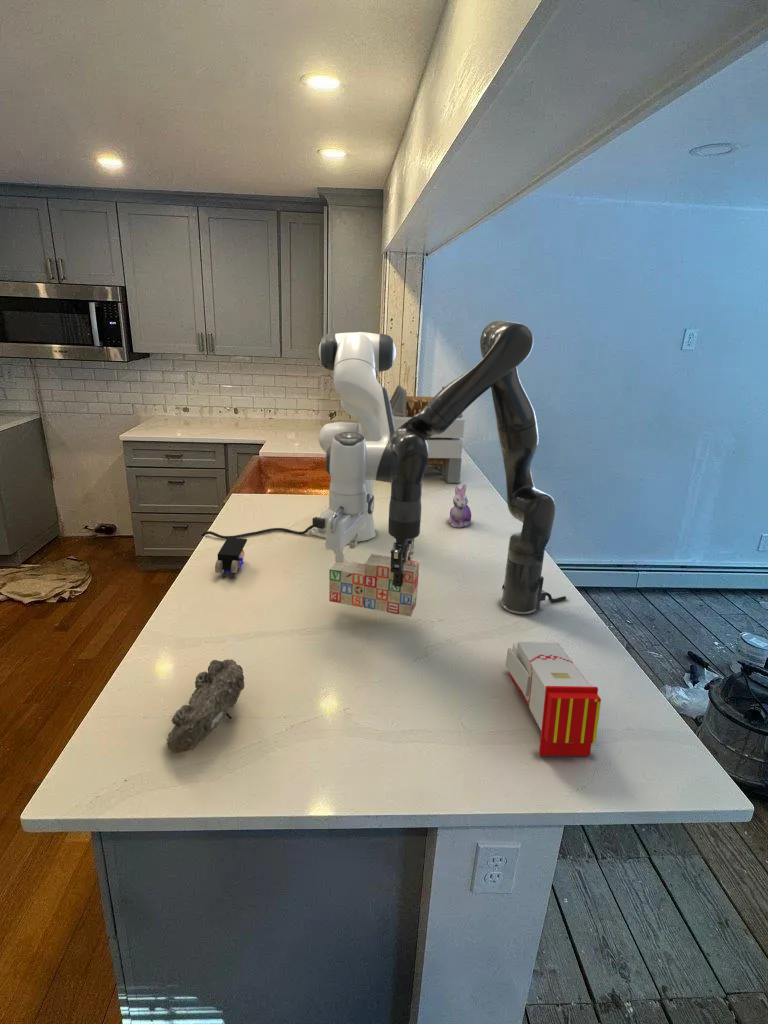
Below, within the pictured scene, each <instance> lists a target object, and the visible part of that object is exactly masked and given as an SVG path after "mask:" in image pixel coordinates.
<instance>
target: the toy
mask: <svg viewBox="0 0 768 1024" xmlns="http://www.w3.org/2000/svg"><path fill="white" fill-rule="evenodd" d="M511 646H512V647H508V648H507V653H506V658H505V659H506V660H505V668H506V669H507V671H508V675H509V676H510V677H511V679H512V681H513V682H514V684H515V686H516V688H517V689H518V691H519V693H520V694H521V696H522V698H523V700H524V702H525V703H526V705H527V706H528V708H529V710H530V712H531V715H532V716H533V718H534V720H535V722H536V723H537V724H536V725H537V726H538V727H539V730H540V731H541V733H540V739H539V740H540V741H539V749H538V751H539V752H538V754H539V756H543V757H548V756H550V757H551V756H552V757H553V756H554V757H568V756H569V757H591V751H592V744H596V743H597V734H598V726H599V717H600V710H601V702H602V698H601V697H600V696H599V694H598V693H599V688H598V686H592V684H590V682H589V681H588V680H587V678H586V677H585V676H584V675H583V673H582V672H581V671H580V669H579V668H578V667H577V665H576V664H575V663H574V661H573V660H572V659H571V658H570V656H569V655H568V654H567V652H566V651H565V649H564V647H562V645H561V644H560V643H559V642H553V641H551V642H549V641H548V642H547V641H546V642H545V641H517V642H512V645H511Z"/></svg>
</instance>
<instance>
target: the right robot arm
mask: <svg viewBox="0 0 768 1024" xmlns="http://www.w3.org/2000/svg"><path fill="white" fill-rule="evenodd" d="M479 346H480V347H479V348H480V349H479V350H480V353H481V357H482V359H480V360H479V362H477V363H476V364H475V365H474V366H473V367H471V368H470V369H469V370H468V371H466V372H464V373H463V374H462V375H460V376H459V377H457V378H456V379H454V380H452V381H451V382H449V383H448V384H447V385H446V386H443V387H444V388H443V389H442V388H441V389H440V390H439V391H438V392H437V393H436V394H435V396H433V397H434V398H433V399H432V400H431V401H430V402H429V403H428V404H427V405H426V406H425V407H424V408H423V410H422V411H421V412H419V413H418V414H416V415H415V416H413V417H412V418H411V419H409V420H408V421H407V422H405V423H404V424H403V425H401V426H400V427H399V428H398V429H397V430H396V431H395V432H394V434H393V435H392V437H391V440H390V450H391V452H392V453H393V454H394V455H395V456H396V457H397V458H398V468H397V472H395V473H394V474H393V476H392V482H391V481H390V483H391V484H390V485H391V486H390V498H389V499H390V500H389V505H388V525H387V533H388V534H389V536H390V537H393V538H394V539H395V541H394V542H393V545H392V549H391V550H390V557H391V572H392V573H394V575H393V585H394V586H398V587H401V586H402V585H403V572H404V565H405V563H407V560H412V557H413V556H414V555H413V554H414V547H415V539H416V538H418V537H419V536H420V534H421V522H422V491H423V489H422V488H423V478H424V476H425V472H426V468H427V466H426V465H427V461H428V445H427V442H426V440H427V439H429V438H430V437H431V436H433V435H439V434H442V433H443V432H444V431H445V430H446V429H447V428H448V427H449V426H450V425H451V424H452V423H453V422H454V421H455V420H456V419H457V418H458V417H459V416H460V415H461V414H462V415H463V413H464V412H465V411H466V410H467V409H468V408H469V407H470V406H471V405H472V404H473V403H474V402H475V401H476V400H477V399H478V398H480V397H481V396H482V395H483V394H485V393H486V392H487V391H488V390H489V389H490V390H491V396H492V397H491V398H492V403H493V408H494V413H495V414H494V415H495V420H496V429H497V434H498V439H499V443H500V448H501V455H502V461H503V466H504V473H505V474H504V475H505V486H506V502H507V508H508V509H507V510H508V511H509V513H510V514H511V516H512V517H513V518H514V519H516V520H518V521H519V522H520V523H522V527H521V532H515V533H513V534H511V535H510V537H509V541H508V547H507V549H508V550H507V557H506V566H505V573H504V580H503V584H502V586H501V591H502V596H501V600H500V605H501V607H502V608H503V609H504V610H505V611H507V612H510V613H511V614H516V615H531V614H533V613H536V611H538V610H540V606H541V602H544V601H546V598H548V601H549V602H551V603H558V602H561V601H564V600H567V596H565V595H563V596H560V597H557V598H553V597H552V594H551V593H550V592H547V591H545V590H543V587H544V586H543V585H544V580H545V577H544V576H543V575H542V571H543V564H544V558H545V552H546V547H547V545H548V543H549V541H550V538H551V536H552V530H553V526H554V521H555V516H556V502H555V500H554V497H552V496H551V495H550V494H548V493H546V492H544V491H542V490H540V489H537V487H536V486H535V484H534V481H533V476H532V475H533V474H532V461H533V459H534V457H535V454H536V452H537V449H538V446H539V441H540V440H539V438H540V437H539V429H538V421H537V417H536V412H535V408H534V407H533V404H532V402H531V400H530V398H529V396H528V395H527V392H526V390H525V389H524V387H523V384H522V381H521V380H520V376H519V371H518V366H520V365H521V364H522V363H523V362H524V361H526V360H527V358H528V357H529V356H530V354H531V352H532V350H533V346H534V335H533V332H532V331H531V329H530V328H529V327H528V326H526V325H525V324H523V323H520V322H517V321H507V320H494V321H491V322H489V323H488V324H487V325H486V326H484V329H483V330H482V332H481V335H480V339H479ZM402 558H404V559H403V560H402ZM396 565H399V567H396Z"/></svg>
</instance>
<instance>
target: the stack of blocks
mask: <svg viewBox="0 0 768 1024" xmlns="http://www.w3.org/2000/svg"><path fill="white" fill-rule="evenodd" d="M403 559H404V558H402V560H403ZM396 567H399V565H396ZM419 571H420V561H417V560H412V559H411V560H407V563H405V565H404V572H403V585H402V586H401V587H398V586H394V585H393V575H394V573H392V572H391V555H390V556H389V555H381V554H374V553H371V554H370V555H369V557H368V558H367V560H366V561H365V563H362V562H358V561H352V560H351V561H350V560H345V559H344V561H343V562H342V563H336V561H334V563H333V564H332V565H331V567H330V568H329V569H328V579H329V584H328V588H329V589H328V590H329V593H328V594H329V595H328V597H329V598H328V600H329V602H332V603H337V604H341V605H346V606H352V607H353V606H354V607H357V608H362V609H368V610H372V611H373V610H374V611H378V612H384V613H388V614H392V615H393V614H394V615H400V616H404V617H409V618H410V617H412V616H413V612H414V611H415V608H416V606H417V600H418V586H419V585H418V584H419V574H420V573H419Z"/></svg>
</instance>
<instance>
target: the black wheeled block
mask: <svg viewBox="0 0 768 1024" xmlns="http://www.w3.org/2000/svg"><path fill="white" fill-rule="evenodd" d="M247 542H248V538H242V537H240V538H227V539H225V541H224V543H223V544H222V546H221V547H220V549H219V551H218V552H217V560H216V562H215V564H214V572H215V573H221V577H222V578H224V577H225V576H226V574H227V573H230V574H231V573H232V574H231V578H234V577H235V575H236V573H237V572H239V571H240V567H242V566H243V565H244V564H245V562H244V558H245V551H244V547H245V546H246V544H247Z"/></svg>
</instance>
